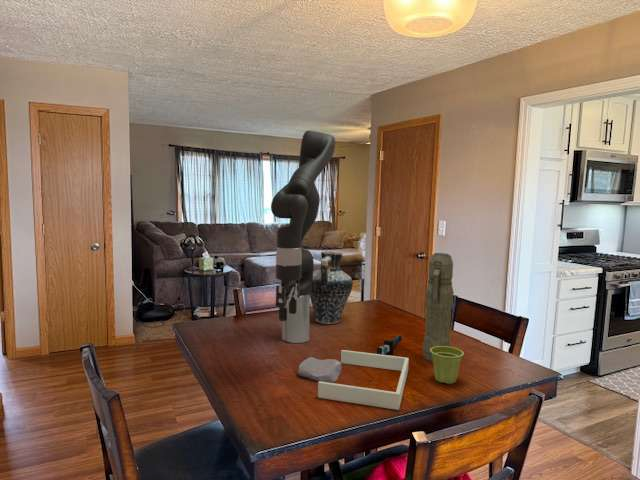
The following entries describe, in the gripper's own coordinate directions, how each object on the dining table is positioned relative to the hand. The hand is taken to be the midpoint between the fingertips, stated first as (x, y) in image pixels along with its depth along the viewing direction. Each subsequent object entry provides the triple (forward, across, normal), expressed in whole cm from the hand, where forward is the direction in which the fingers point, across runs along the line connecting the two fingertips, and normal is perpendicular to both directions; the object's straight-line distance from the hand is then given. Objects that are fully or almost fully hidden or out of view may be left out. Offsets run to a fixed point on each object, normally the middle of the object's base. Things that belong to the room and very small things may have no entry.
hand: (288, 316), depth 130 cm
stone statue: (+17, -28, +43) cm, 54 cm away
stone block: (+17, -1, +10) cm, 20 cm away
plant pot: (+17, -10, +46) cm, 50 cm away
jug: (+17, -57, -2) cm, 59 cm away
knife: (+17, -30, +28) cm, 44 cm away
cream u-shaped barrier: (+17, 0, +24) cm, 29 cm away
